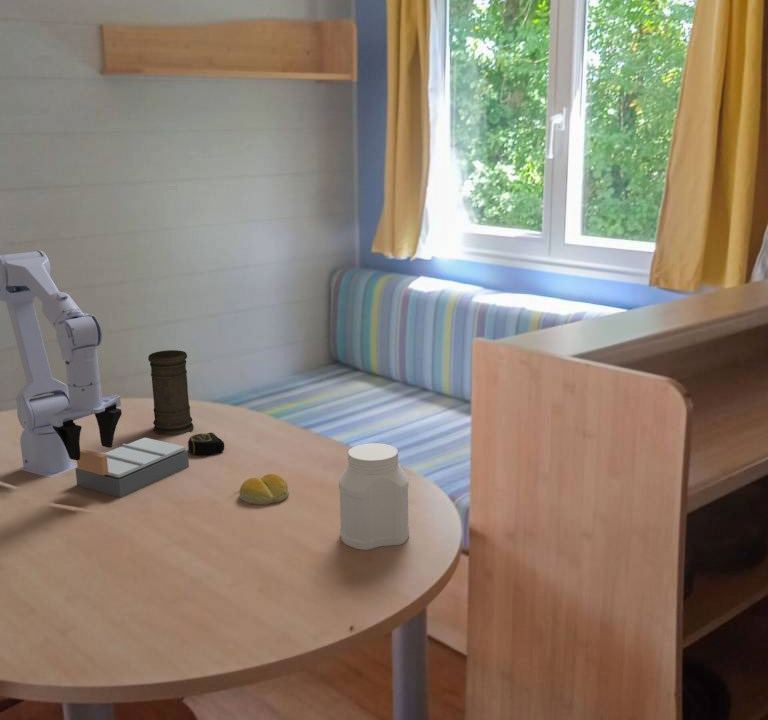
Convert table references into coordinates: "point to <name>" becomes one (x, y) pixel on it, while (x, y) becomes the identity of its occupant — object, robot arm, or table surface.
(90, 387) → the robot arm
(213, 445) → the tape measure
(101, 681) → the table surface
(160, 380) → the container
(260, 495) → the bread roll
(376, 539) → the jar
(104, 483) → the tub
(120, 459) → the lid
